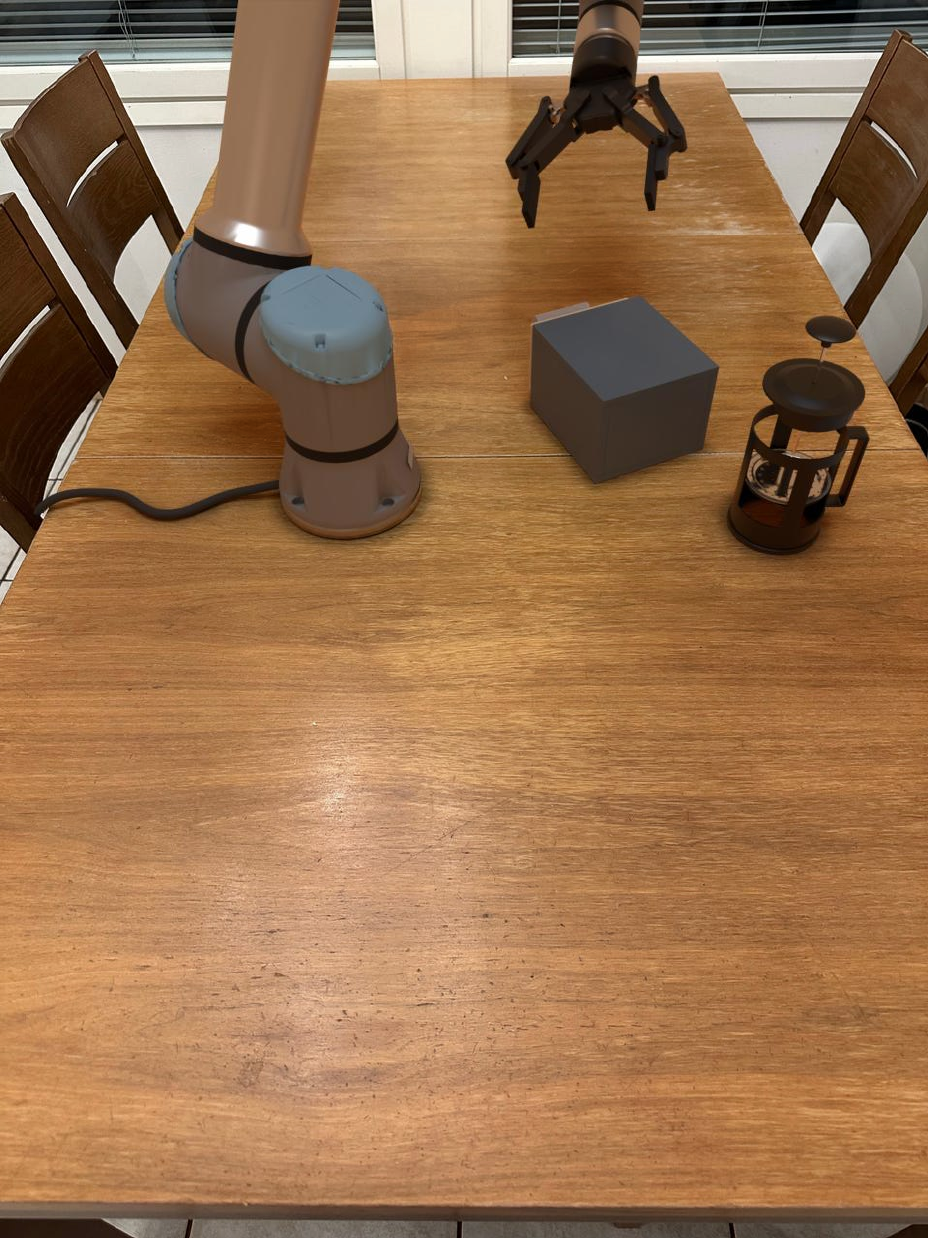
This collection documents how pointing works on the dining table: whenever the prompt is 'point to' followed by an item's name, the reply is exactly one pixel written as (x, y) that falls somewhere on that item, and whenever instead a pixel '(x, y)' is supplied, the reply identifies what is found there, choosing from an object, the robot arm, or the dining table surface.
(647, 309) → the cabinet
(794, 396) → the french press
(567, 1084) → the dining table surface
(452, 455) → the dining table surface
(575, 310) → the drawer
